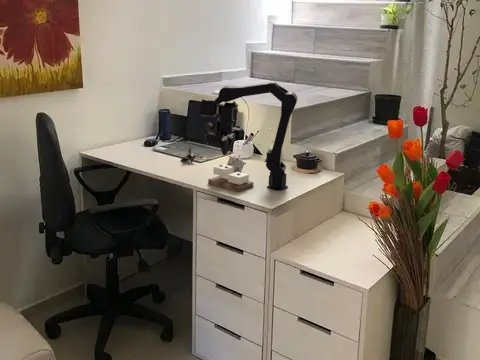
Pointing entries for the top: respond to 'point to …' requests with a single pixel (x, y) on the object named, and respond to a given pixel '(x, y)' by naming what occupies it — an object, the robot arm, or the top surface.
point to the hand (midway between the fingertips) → (224, 155)
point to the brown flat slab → (229, 184)
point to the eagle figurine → (190, 156)
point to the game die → (236, 163)
